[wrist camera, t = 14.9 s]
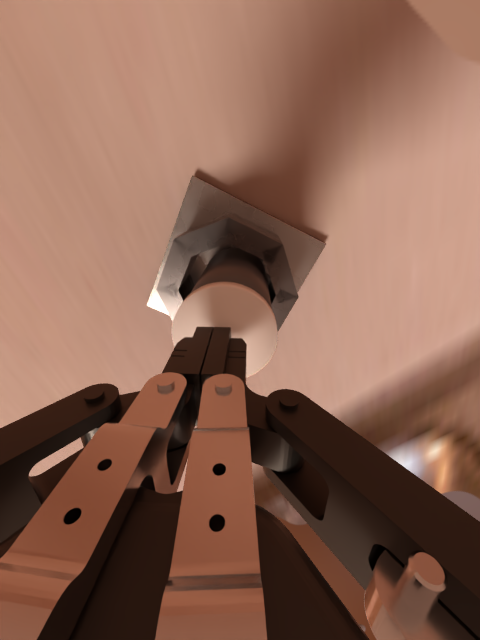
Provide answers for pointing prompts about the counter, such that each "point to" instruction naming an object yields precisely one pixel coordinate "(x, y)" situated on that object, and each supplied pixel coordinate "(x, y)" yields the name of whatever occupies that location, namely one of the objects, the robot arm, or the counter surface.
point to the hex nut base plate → (231, 232)
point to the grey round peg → (232, 305)
